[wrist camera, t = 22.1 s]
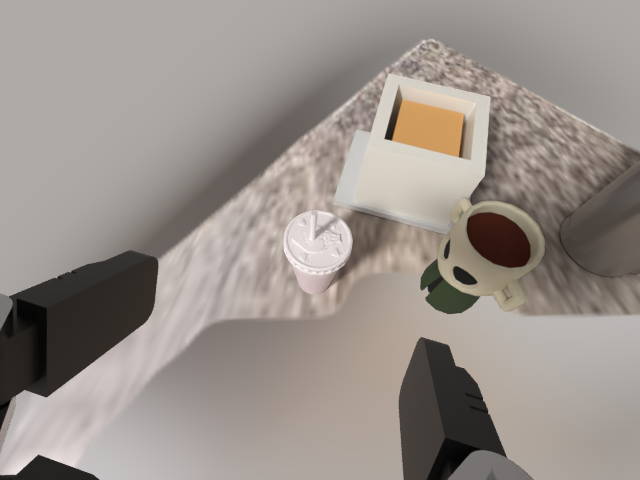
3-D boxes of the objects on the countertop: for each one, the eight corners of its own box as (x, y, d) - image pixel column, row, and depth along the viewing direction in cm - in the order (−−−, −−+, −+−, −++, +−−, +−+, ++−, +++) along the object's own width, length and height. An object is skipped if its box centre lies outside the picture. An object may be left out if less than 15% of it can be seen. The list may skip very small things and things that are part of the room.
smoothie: (285, 254, 42) (280, 180, 29) (339, 253, 42) (356, 180, 30) (286, 307, 39) (281, 249, 26) (344, 304, 39) (365, 247, 27)
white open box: (471, 163, 50) (512, 99, 41) (463, 239, 44) (510, 185, 34) (355, 134, 52) (368, 66, 42) (332, 204, 45) (342, 143, 36)
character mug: (398, 255, 42) (436, 191, 31) (451, 242, 44) (505, 175, 32) (439, 344, 38) (500, 306, 26) (496, 325, 39) (578, 282, 28)
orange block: (440, 157, 47) (463, 113, 41) (434, 200, 44) (458, 159, 37) (388, 144, 48) (402, 99, 41) (377, 185, 44) (391, 142, 38)
